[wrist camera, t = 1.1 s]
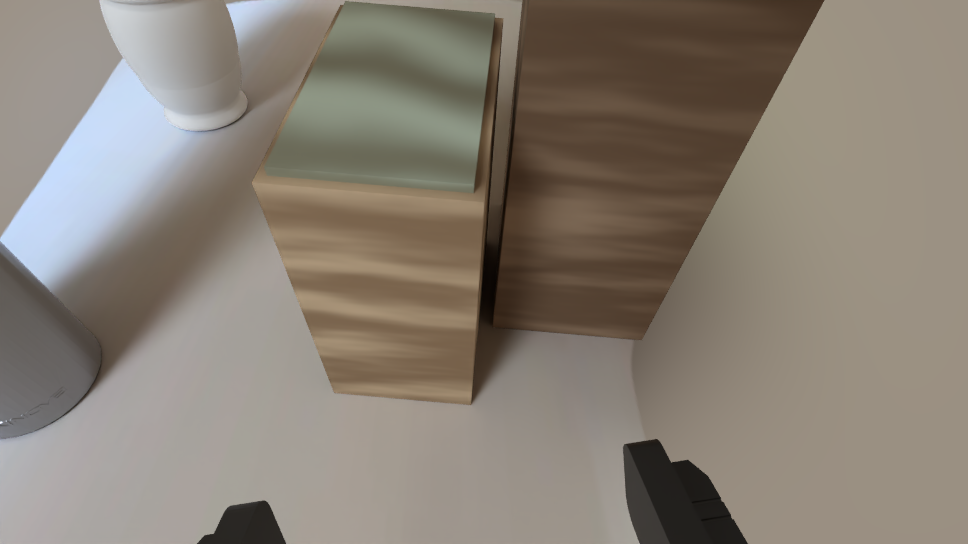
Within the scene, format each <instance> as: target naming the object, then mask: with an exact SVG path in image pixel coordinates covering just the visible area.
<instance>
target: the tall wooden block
mask: <svg viewBox="0 0 968 544" xmlns="http://www.w3.org/2000/svg"><path fill="white" fill-rule="evenodd" d="M502 28H503V18H495V14H494V13H482V12H469V11H457V10H445V9H433V8H421V7H409V6H397V5H385V4H372V3H360V2H348V1H345V3H344V5H340V7H339V9H338V11H337V13H336V15H335V17H334V19H333V21H332V23H331V25H330V27H329V29H328V31H327V33H326V35H325V37H324V39H323V41H322V43H321V45H320V47H319V49H318V51H317V53H316V55H315V57H314V59H313V61H312V63H311V65H310V67H309V69H308V71H307V73H306V75H305V77H304V79H303V81H302V83H301V85H300V87H299V89H298V91H297V93H296V95H295V97H294V99H293V101H292V103H291V105H290V107H289V109H288V111H287V113H286V115H285V117H284V119H283V121H282V123H281V125H280V127H279V129H278V131H277V133H276V135H275V137H274V139H273V141H272V143H271V145H270V147H269V149H268V151H267V153H266V155H265V157H264V159H263V161H262V163H261V165H260V167H259V169H258V171H257V173H256V175H255V177H254V179H253V181H252V185H253V187H254V190H255V192H256V195H257V197H258V200H259V202H260V205H261V208H262V210H263V213H264V215H265V218H266V220H267V223H268V225H269V228H270V230H271V233H272V236H273V238H274V241H275V243H276V246H277V248H278V251H279V253H280V256H281V258H282V261H283V264H284V266H285V269H286V271H287V274H288V276H289V279H290V281H291V284H292V286H293V289H294V292H295V294H296V297H297V299H298V302H299V304H300V307H301V309H302V312H303V314H304V317H305V320H306V322H307V325H308V327H309V330H310V332H311V335H312V337H313V340H314V343H315V345H316V348H317V350H318V353H319V355H320V358H321V360H322V363H323V365H324V368H325V371H326V373H327V376H328V378H329V381H330V383H331V386H332V388H333V391H334V393H341V394H353V395H364V396H375V397H387V398H398V399H409V400H421V401H432V402H443V403H455V404H466V405H471V399H472V389H473V378H474V367H475V357H476V346H477V335H478V324H479V314H480V303H481V292H482V282H483V271H484V260H485V249H486V238H487V225H488V212H489V199H490V186H491V173H492V160H493V146H494V133H495V120H496V107H497V94H498V81H499V68H500V54H501V41H502Z"/></svg>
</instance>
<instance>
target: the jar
mask: <svg viewBox="0 0 968 544" xmlns="http://www.w3.org/2000/svg"><path fill="white" fill-rule="evenodd" d="M99 2H100V6H101V10H102V14H103V17H104V19H105V22H106V25H107V27H108V30H109V32H110V34H111V37H112V39H113V41H114V42H115V44H116V46H117V48H118V50H119V52H120V53H121V55H122V56H123V58H124V59H125V61H126V62H127V64H128V65H129V66H130V68H131V69H132V70H133V72H134V73H135V74H136V75H137V77H138V78H139V80H140V81H141V83H142V84H143V86H144V87H145V88H146V90H147V91H148V92H149V93H150V94H151V95H152V96H153V97H154V98H155V99H156V100H157V101H158V102H159V103H160V104H161V105H163V106H164V115H165V118H166V120H167V121H168V122H169V123H170V124H171V125H173V126H175V127H177V128H179V129H183V130H188V131H208V130H213V129H218V128H221V127H224V126H226V125H229V124H231V123H233V122H234V121H236V120H237V119H238V118H240V117H241V116H242V115H243V114H244V112H245V111H246V109H247V105H248V100H247V97H246V95H245V94H244V93H243V91H242V90H241V89H240V86H241V65H240V59H239V55H238V46H237V39H236V34H235V30H234V26H233V23H232V20H231V17H230V14H229V11H228V9H227V7H226V4H225V2H224V0H99Z"/></svg>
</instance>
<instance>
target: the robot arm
mask: <svg viewBox="0 0 968 544" xmlns="http://www.w3.org/2000/svg"><path fill="white" fill-rule="evenodd" d="M100 363H101V349H100V345H99V343H98V341H97V339H96V337H95V336H94V335H93V334H92V333H91V332H90V331H89V330H88V329H87V328H86V327H85V326H84V325H83V324H82V323H81V322H80V321H79V320H78V319H77V318H76V317H75V316H74V315H73V314H72V313H71V312H70V311H69V310H68V309H67V308H66V307H65V306H64V304H63V303H61V302H60V301H59V300H58V299H57V298H56V297H55V296H54V295H53V294H52V293H51V292H50V291H49V290H48V289H47V288H46V287H45V286H44V285H43V284H42V283H41V282H40V281H39V280H38V279H37V278H36V277H35V276H34V275H33V274H32V273H31V272H30V271H29V270H28V269H27V268H26V267H25V266H24V265H23V264H22V263H21V262H20V261H19V260H18V259H17V258H16V257H15V256H14V255H13V254H12V253H11V252H10V251H9V250H8V249H7V248H6V247H5V246H4V245H3V244H2V243H1V242H0V439H6V438H13V437H18V436H21V435H24V434H27V433H30V432H33V431H35V430H38V429H40V428H42V427H44V426H46V425H48V424H50V423H51V422H53V421H55V420H56V419H58V418H59V417H61V416H62V415H64V414H65V413H66V412H67V411H69V410H70V409H71V408H72V407H73V406H74V405H76V404H77V403H78V402H79V400H80V399H81V398H82V397H83V396H84V395H85V394H86V392H87V391H88V390H89V388H90V387H91V385H92V383H93V382H94V380H95V378H96V376H97V373H98V371H99V368H100ZM623 454H624V471H625V488H626V499H627V505H628V510H629V514H630V517H631V521H632V524H633V527H634V529H635V532H636V535H637V537H638V540H639V543H640V544H748V543H747V542H746V540H745V538H744V537H743V535H742V533H741V532H740V530H739V528H738V526H737V525H736V523H735V521H734V520H732V518H731V514H730V513H729V511H728V509H727V508H726V506H725V504H724V502H722V501H721V497H720V496H719V494H718V492H717V491H716V489H715V487H714V485H713V484H712V482H711V480H710V479H709V477H708V476H707V475H706V474H705V473H703V472H702V471H701V470H700V469H699V468H697V467H696V466H695V465H694V464H692V463H691V462H690V461H689V460H684V461H678V462H672V463H671V462H670V460H669V458H668V456H667V454H666V452H665V450H664V448H663V446H662V444H661V443H660V442H659V440H657V439H655V440H648V441H642V442H636V443H629V444H624V447H623ZM197 544H286V542H285V540H284V538H283V535H282V533H281V531H280V528H279V526H278V524H277V521H276V519H275V517H274V514H273V512H272V510H271V507H270V505H269V504H268V502H266V501H258V502H251V503H245V504H239V505H233V506H229V507H228V508H227V509H226V510H225V512H224V514H223V516H222V518H221V520H220V522H219V524H218V526H217V528H216V531H215V533H214V534H210V535H205V536H204V537H203V538H202V539H201V540H200V541H199V542H198V543H197Z"/></svg>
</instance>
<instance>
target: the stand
mask: <svg viewBox="0 0 968 544" xmlns="http://www.w3.org/2000/svg"><path fill="white" fill-rule="evenodd" d="M823 2H824V0H523V2H522V11H521V21H520V31H519V41H518V51H517V60H516V70H515V80H514V90H513V99H512V109H511V119H510V129H509V139H508V148H507V158H506V168H505V178H504V188H503V197H502V208H501V222H500V235H499V249H498V263H497V276H496V290H495V303H494V317H493V327H496V328H508V329H519V330H531V331H542V332H554V333H565V334H577V335H588V336H600V337H611V338H623V339H634V340H642V338H643V336H644V335H645V333H646V331H647V329H648V327H649V325H650V323H651V322H652V319H653V318H654V316H655V314H656V312H657V310H658V309H659V307H660V305H661V303H662V301H663V299H664V297H665V295H666V294H667V292H668V290H669V288H670V286H671V284H672V283H673V281H674V279H675V277H676V275H677V273H678V271H679V270H680V268H681V266H682V264H683V262H684V260H685V258H686V257H687V255H688V253H689V251H690V249H691V247H692V245H693V243H694V242H695V240H696V238H697V236H698V234H699V232H700V231H701V229H702V227H703V225H704V223H705V221H706V219H707V218H708V216H709V214H710V212H711V210H712V208H713V206H714V205H715V202H716V201H717V199H718V197H719V195H720V193H721V192H722V189H723V188H724V186H725V184H726V182H727V180H728V178H729V177H730V175H731V173H732V171H733V169H734V167H735V165H736V164H737V162H738V160H739V158H740V156H741V154H742V152H743V151H744V149H745V146H746V145H747V143H748V141H749V139H750V138H751V136H752V134H753V132H754V130H755V128H756V126H757V125H758V123H759V121H760V119H761V117H762V115H763V113H764V112H765V109H766V108H767V106H768V104H769V102H770V100H771V98H772V97H773V95H774V93H775V91H776V89H777V87H778V86H779V84H780V82H781V80H782V78H783V76H784V74H785V73H786V71H787V69H788V67H789V65H790V63H791V61H792V60H793V57H794V56H795V54H796V52H797V50H798V48H799V47H800V44H801V43H802V41H803V39H804V37H805V35H806V33H807V32H808V30H809V28H810V26H811V24H812V22H813V20H814V19H815V17H816V15H817V13H818V11H819V9H820V7H821V6H822V4H823Z"/></svg>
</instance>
